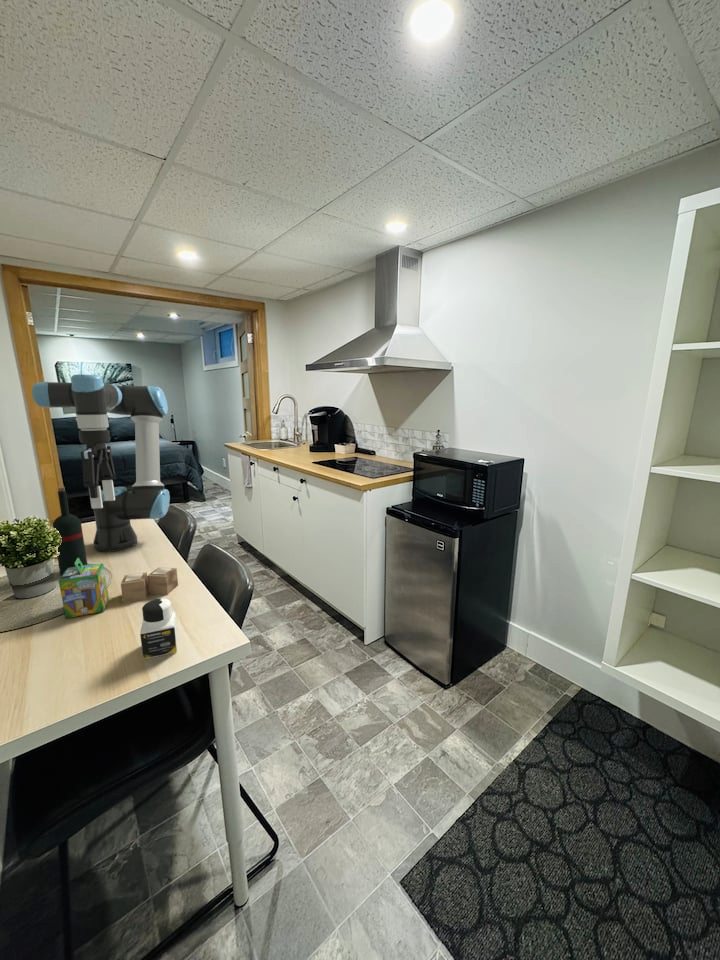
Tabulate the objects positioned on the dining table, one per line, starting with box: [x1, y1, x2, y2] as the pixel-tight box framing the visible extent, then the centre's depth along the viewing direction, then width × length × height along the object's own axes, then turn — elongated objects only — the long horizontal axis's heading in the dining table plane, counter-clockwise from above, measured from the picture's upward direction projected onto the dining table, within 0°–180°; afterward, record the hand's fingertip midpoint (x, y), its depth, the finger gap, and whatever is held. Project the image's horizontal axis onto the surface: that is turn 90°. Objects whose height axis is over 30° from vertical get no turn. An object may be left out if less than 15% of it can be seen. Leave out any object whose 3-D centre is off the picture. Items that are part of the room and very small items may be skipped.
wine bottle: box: [52, 486, 89, 577], centre depth 131 cm, size 8×10×30 cm
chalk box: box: [58, 558, 109, 620], centre depth 110 cm, size 9×9×15 cm
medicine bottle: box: [139, 598, 179, 661], centre depth 93 cm, size 7×7×12 cm
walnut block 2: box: [147, 567, 179, 596], centre depth 122 cm, size 6×6×6 cm
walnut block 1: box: [120, 572, 149, 603], centre depth 118 cm, size 6×6×6 cm
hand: (103, 503), depth 119 cm, fingers open, 8 cm apart
